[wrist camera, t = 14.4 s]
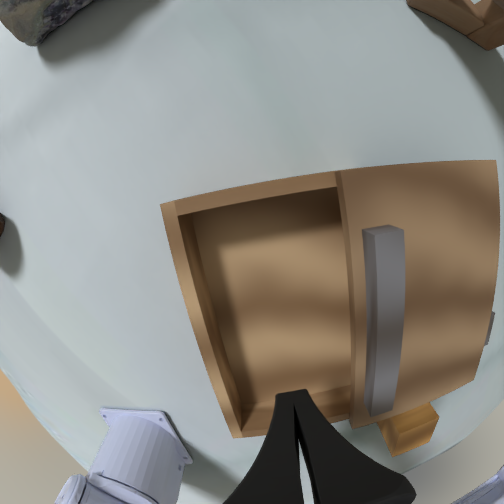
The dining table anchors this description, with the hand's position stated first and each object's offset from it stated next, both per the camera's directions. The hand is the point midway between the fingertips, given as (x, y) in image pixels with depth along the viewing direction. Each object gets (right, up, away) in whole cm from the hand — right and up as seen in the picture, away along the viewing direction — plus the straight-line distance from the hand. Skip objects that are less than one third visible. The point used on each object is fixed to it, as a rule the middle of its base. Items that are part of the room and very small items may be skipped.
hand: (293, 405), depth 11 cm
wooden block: (+17, +30, +2) cm, 34 cm away
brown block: (+12, -8, +12) cm, 19 cm away
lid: (+10, +4, +6) cm, 13 cm away
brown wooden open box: (+1, +3, +9) cm, 9 cm away
